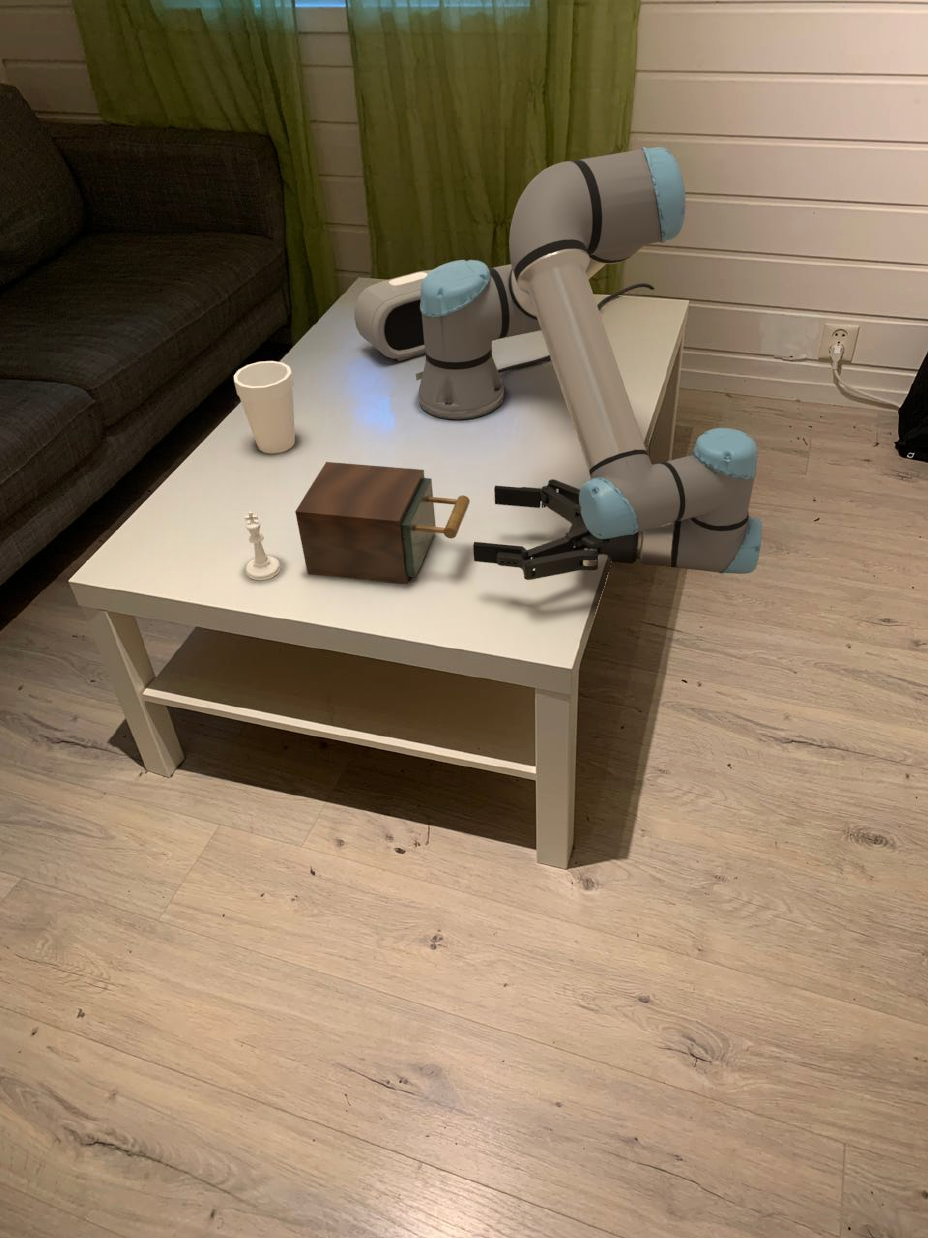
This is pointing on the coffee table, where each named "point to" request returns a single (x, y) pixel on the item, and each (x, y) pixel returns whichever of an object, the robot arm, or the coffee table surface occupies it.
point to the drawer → (427, 524)
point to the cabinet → (357, 521)
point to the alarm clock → (393, 316)
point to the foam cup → (268, 404)
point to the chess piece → (259, 554)
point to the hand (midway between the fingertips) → (484, 522)
